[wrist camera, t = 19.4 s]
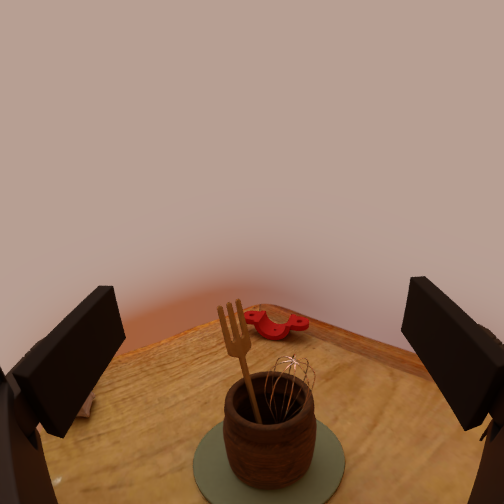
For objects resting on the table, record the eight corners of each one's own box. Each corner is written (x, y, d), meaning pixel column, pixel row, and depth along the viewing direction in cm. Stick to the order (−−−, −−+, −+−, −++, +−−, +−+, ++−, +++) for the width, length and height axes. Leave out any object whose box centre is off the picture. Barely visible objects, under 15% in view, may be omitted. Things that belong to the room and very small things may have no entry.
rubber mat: (168, 451, 19) (166, 447, 19) (275, 395, 26) (275, 390, 25) (257, 552, 11) (257, 550, 11) (372, 458, 17) (374, 454, 17)
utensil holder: (266, 507, 14) (259, 382, 10) (210, 453, 19) (180, 319, 15) (329, 460, 17) (354, 323, 14) (271, 418, 22) (268, 286, 19)
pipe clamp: (306, 328, 32) (305, 344, 33) (311, 316, 35) (310, 332, 36) (238, 319, 35) (239, 334, 36) (247, 308, 38) (248, 323, 38)
